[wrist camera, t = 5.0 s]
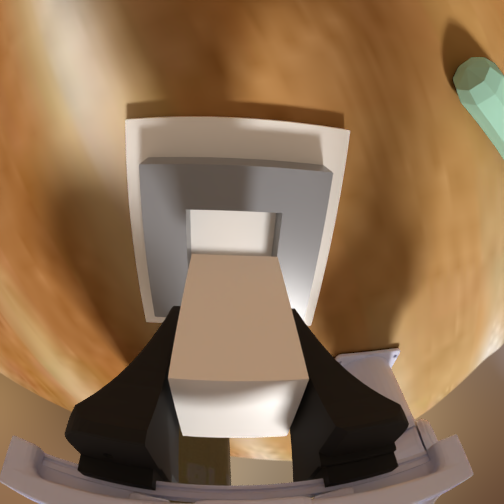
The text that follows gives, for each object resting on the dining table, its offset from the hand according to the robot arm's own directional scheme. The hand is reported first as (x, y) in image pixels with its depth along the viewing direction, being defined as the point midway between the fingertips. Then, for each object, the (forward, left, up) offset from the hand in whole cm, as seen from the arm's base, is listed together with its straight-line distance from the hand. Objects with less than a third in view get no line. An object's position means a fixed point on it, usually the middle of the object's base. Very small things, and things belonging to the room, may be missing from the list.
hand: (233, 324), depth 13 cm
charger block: (0, 0, -2) cm, 2 cm away
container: (+10, -27, -10) cm, 30 cm away
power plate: (0, 0, -9) cm, 9 cm away
